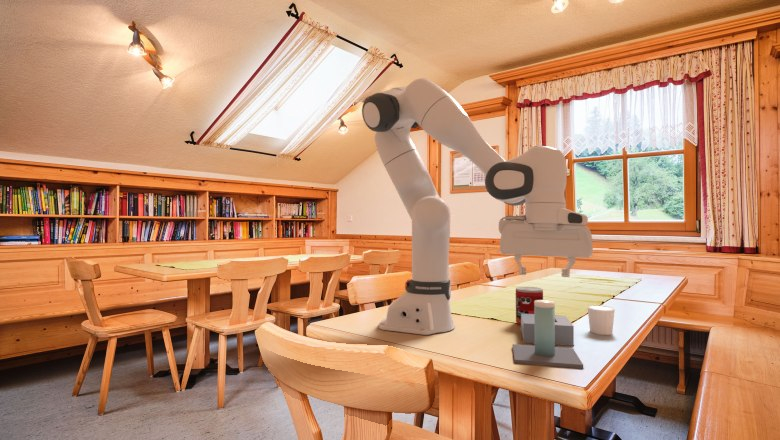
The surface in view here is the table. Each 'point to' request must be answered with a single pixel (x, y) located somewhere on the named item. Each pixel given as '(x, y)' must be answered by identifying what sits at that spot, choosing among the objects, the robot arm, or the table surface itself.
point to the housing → (562, 330)
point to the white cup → (601, 319)
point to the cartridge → (544, 327)
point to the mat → (560, 359)
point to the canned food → (526, 300)
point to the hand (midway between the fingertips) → (543, 275)
